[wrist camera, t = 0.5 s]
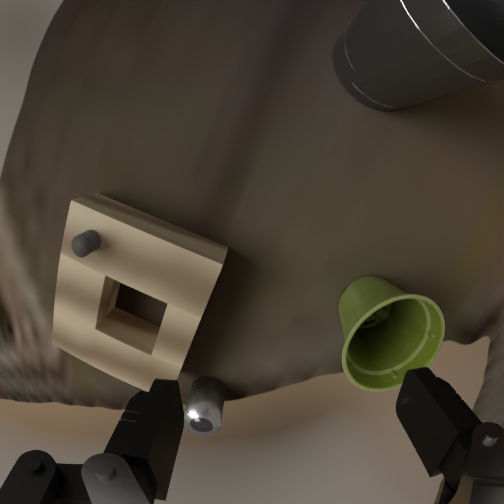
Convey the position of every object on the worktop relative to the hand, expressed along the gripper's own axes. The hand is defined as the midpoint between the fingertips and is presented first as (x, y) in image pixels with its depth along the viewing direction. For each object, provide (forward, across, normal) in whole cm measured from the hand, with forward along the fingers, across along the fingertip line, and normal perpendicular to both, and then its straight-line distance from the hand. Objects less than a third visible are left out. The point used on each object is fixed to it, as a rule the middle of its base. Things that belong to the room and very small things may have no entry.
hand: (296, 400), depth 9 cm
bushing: (+20, +7, +16) cm, 27 cm away
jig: (+20, +13, +3) cm, 24 cm away
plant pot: (+20, -10, +5) cm, 23 cm away
